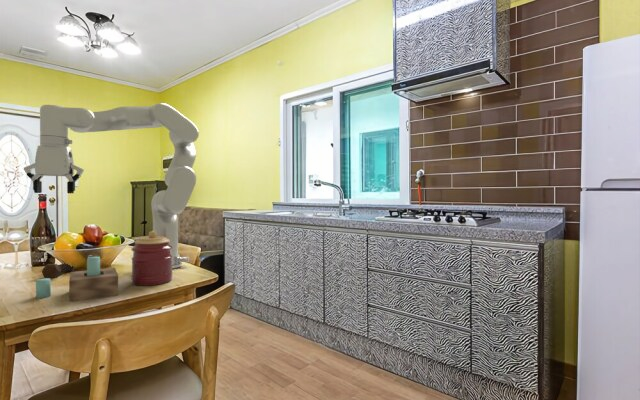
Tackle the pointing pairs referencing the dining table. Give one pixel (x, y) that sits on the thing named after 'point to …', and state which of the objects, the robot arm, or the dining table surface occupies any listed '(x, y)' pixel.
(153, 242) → the canister
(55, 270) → the bolt
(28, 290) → the dining table surface
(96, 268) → the tall dowel
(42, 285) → the short dowel
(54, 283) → the dining table surface
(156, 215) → the robot arm
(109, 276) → the socket block
